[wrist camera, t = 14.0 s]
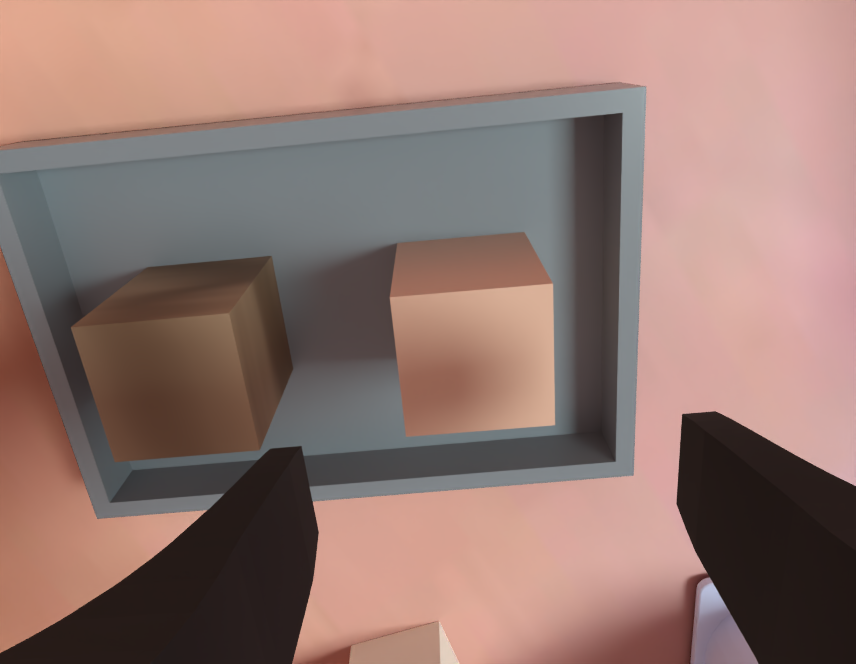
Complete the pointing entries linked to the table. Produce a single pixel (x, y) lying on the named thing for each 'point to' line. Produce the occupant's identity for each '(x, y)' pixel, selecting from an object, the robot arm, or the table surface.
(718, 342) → the table surface
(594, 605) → the table surface
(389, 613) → the table surface
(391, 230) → the tray
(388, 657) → the cream block
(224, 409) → the walnut block
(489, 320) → the peach block
